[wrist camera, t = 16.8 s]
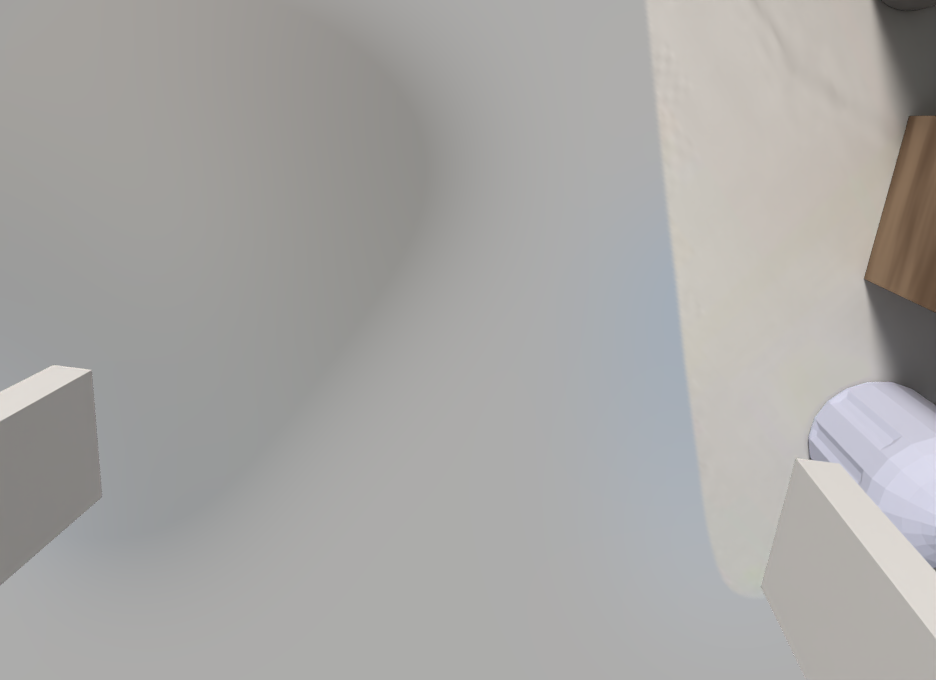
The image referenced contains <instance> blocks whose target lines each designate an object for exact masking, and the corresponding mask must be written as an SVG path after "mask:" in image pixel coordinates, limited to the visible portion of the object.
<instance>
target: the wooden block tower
mask: <svg viewBox="0 0 936 680" xmlns="http://www.w3.org/2000/svg"><path fill="white" fill-rule="evenodd" d="M864 279H865V280H868V281H870V282H872V283H874V284H876V285H878V286H880V287H882V288H885V289H887V290H889V291H891V292H893V293H895V294H897V295H899V296H901V297H904V298H906V299H908V300H910V301H912V302H914V303H916V304H918V305H921V306H923V307H925V308H927V309H929V310H931V311H933V312H935V313H936V116H909V119H908V122H907V126H906V130H905V133H904V137H903V140H902V144H901V148H900V151H899V155H898V158H897V162H896V166H895V169H894V173H893V176H892V180H891V184H890V187H889V191H888V194H887V198H886V202H885V205H884V209H883V212H882V216H881V220H880V223H879V227H878V230H877V234H876V238H875V241H874V245H873V248H872V252H871V256H870V259H869V263H868V266H867V270H866V274H865V277H864Z"/></svg>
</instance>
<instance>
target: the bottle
mask: <svg viewBox="0 0 936 680" xmlns="http://www.w3.org/2000/svg"><path fill="white" fill-rule="evenodd" d="M881 1H882V2H884V3H885V4H886V5H888V6H890V7H892V8H895V9H899V10H906V11H910V10H919V9H924V8H928V7H931V6H935V5H936V0H881Z"/></svg>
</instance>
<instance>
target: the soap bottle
mask: <svg viewBox="0 0 936 680" xmlns="http://www.w3.org/2000/svg"><path fill="white" fill-rule="evenodd" d="M808 438H809V451H810V457H811V459H812V460H815V461H823V462H831V463H839V464H840V465H841V466H842V467H843V468H844V469H845V470H846V471H847V472H848V474H849V475H850V476H851V477H852V478H853V479H854V480H855V481H856V483H857V484H858V485H859V486H860V487H861V488H862V489H863V490H864V492H865V493H866V494H867V495H868V496H869V497H870V498H871V499H872V501H873V502H874V503H875V504H876V505H877V506H878V507H879V508H880V509H881V511H882V512H883V513H884V514H885V515H886V516H887V517H888V518H889V520H890V521H891V522H892V523H893V524H894V525H895V526H896V527H897V529H898V530H899V531H900V532H901V533H902V534H903V535H904V536H905V538H906V539H907V540H908V541H909V542H910V543H911V544H912V545H913V547H914V548H915V549H916V550H917V551H918V552H919V553H920V554H921V556H922V557H923V558H924V559H925V560H926V561H927V562H928V563H929V564H930V566H931V567H932V568H936V405H934V404H933V403H932V402H930V401H929V400H927V399H926V398H924V397H923V396H922V395H920V394H919V393H917V392H916V391H914V390H913V389H911V388H908V387H905V386H902V385H899V384H896V383H894V382H866V383H862V384H859V385H856V386H853V387H849V388H846V389H844V390H843V391H841V392H840V393H839V394H837V395H836V396H834V397H833V398H831V399H830V400H828V401H827V402H826V403H825V405H824V406H823V407H822V409H821V410H820V411H819V412H818V414H817V415H816V416H815V418H814V421H813V424H812V427H811V430H810V433H809V437H808Z"/></svg>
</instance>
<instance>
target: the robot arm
mask: <svg viewBox="0 0 936 680" xmlns="http://www.w3.org/2000/svg"><path fill="white" fill-rule="evenodd" d="M101 497H102V489H101V476H100V464H99V453H98V440H97V428H96V415H95V403H94V392H93V379H92V370H88V369H80V368H72V367H64V366H56V365H53V366H51V367H49V368H47V369H45V370H43V371H41V372H39V373H37V374H35V375H33V376H31V377H29V378H27V379H25V380H23V381H21V382H19V383H17V384H15V385H13V386H11V387H9V388H7V389H5V390H3V391H1V392H0V585H1V584H2V583H4V582H5V581H6V580H7V579H8V578H9V577H10V576H11V575H13V574H14V573H15V572H16V571H17V570H19V569H20V568H21V567H22V566H23V565H24V564H25V563H27V562H28V561H29V560H30V559H31V558H32V557H34V556H35V555H36V554H37V553H38V552H39V551H40V550H41V549H43V548H44V547H45V546H46V545H47V544H48V543H49V542H51V541H52V540H53V539H54V538H55V537H57V536H58V535H59V534H60V533H61V532H62V531H63V530H65V529H66V528H67V527H68V526H69V525H70V524H71V523H73V522H74V521H75V520H76V519H77V518H78V517H80V516H81V515H82V514H83V513H84V512H85V511H86V510H88V509H89V508H90V507H91V506H92V505H93V504H95V502H97V501H98V500H99V499H100V498H101ZM761 588H762V590H763V592H764V594H765V596H766V598H767V600H768V602H769V604H770V607H771V609H772V611H773V612H774V615H775V617H776V619H777V621H778V623H779V625H780V627H781V629H782V631H783V633H784V635H785V637H786V639H787V641H788V643H789V646H790V647H791V650H792V652H793V654H794V655H795V658H796V660H797V662H798V664H799V666H800V668H801V670H802V672H803V674H804V676H805V678H806V680H936V571H935V570H934V569H933V568H932V567H931V566H930V564H929V563H928V562H927V561H926V560H925V559H924V558H923V557H922V556H921V554H920V553H919V552H918V551H917V550H916V549H915V548H914V547H913V545H912V544H911V543H910V542H909V541H908V540H907V539H906V538H905V536H904V535H903V534H902V533H901V532H900V531H899V530H898V529H897V527H896V526H895V525H894V524H893V523H892V522H891V521H890V520H889V518H888V517H887V516H886V515H885V514H884V513H883V512H882V511H881V509H880V508H879V507H878V506H877V505H876V504H875V503H874V502H873V501H872V499H871V498H870V497H869V496H868V495H867V494H866V493H865V492H864V490H863V489H862V488H861V487H860V486H859V485H858V484H857V483H856V481H855V480H854V479H853V478H852V477H851V476H850V475H849V474H848V472H847V471H846V470H845V469H844V468H843V467H842V466H841V465H840V464H839V463H831V462H823V461H815V460H807V459H799V458H796V459H795V463H794V466H793V470H792V474H791V478H790V481H789V485H788V489H787V492H786V496H785V500H784V503H783V507H782V511H781V514H780V518H779V522H778V525H777V529H776V533H775V537H774V540H773V544H772V548H771V551H770V555H769V559H768V562H767V566H766V570H765V573H764V577H763V581H762V584H761Z"/></svg>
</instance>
